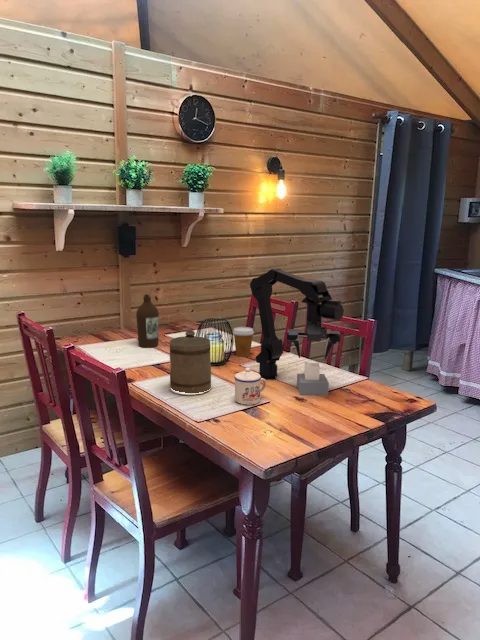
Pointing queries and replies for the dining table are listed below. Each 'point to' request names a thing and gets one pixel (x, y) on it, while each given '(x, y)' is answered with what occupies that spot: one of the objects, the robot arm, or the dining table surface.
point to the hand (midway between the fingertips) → (312, 358)
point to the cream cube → (312, 371)
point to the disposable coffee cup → (243, 340)
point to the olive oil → (147, 323)
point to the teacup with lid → (248, 387)
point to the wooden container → (190, 363)
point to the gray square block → (312, 385)
